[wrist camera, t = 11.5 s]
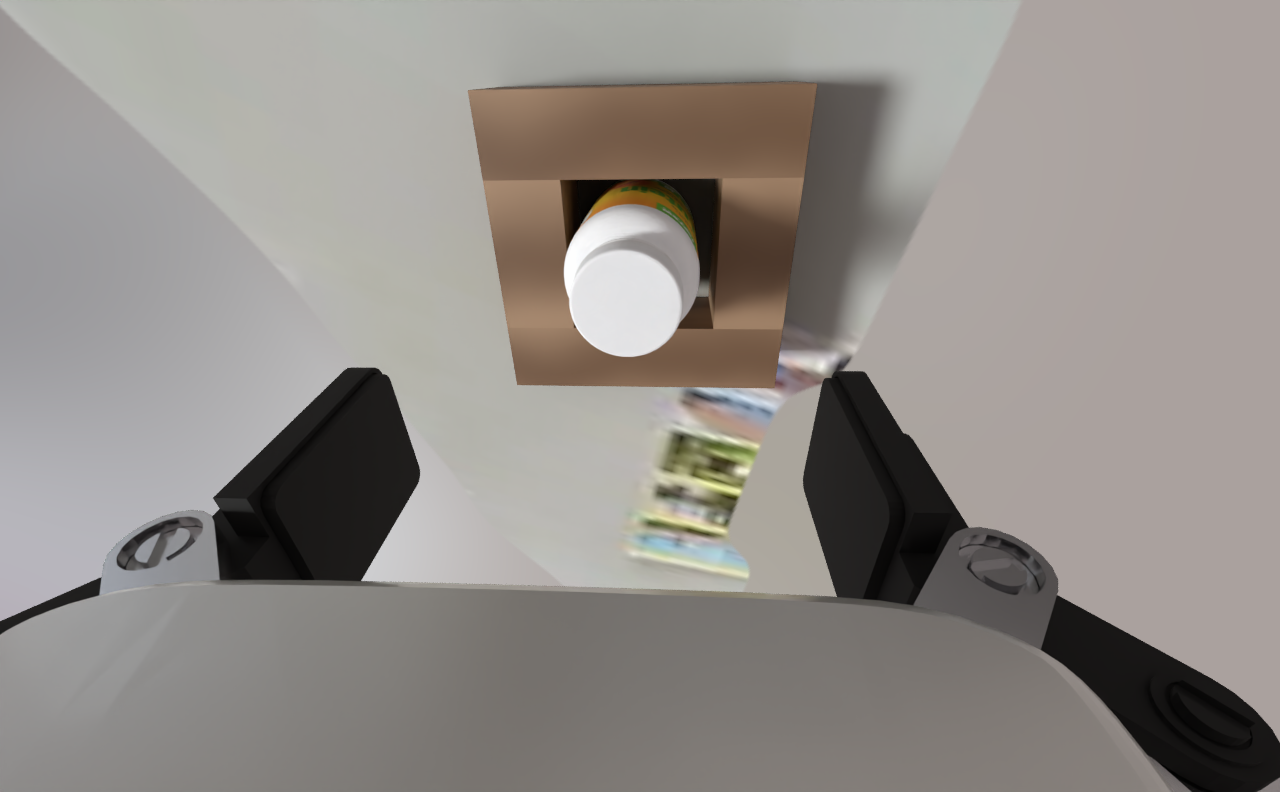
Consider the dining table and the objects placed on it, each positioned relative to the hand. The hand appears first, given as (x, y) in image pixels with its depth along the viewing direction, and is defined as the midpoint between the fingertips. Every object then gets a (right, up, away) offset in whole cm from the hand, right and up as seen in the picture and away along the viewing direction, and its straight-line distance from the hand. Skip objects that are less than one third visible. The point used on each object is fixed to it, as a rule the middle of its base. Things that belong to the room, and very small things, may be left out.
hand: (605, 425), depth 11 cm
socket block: (+1, +9, +15) cm, 17 cm away
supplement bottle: (+1, +9, +15) cm, 17 cm away
